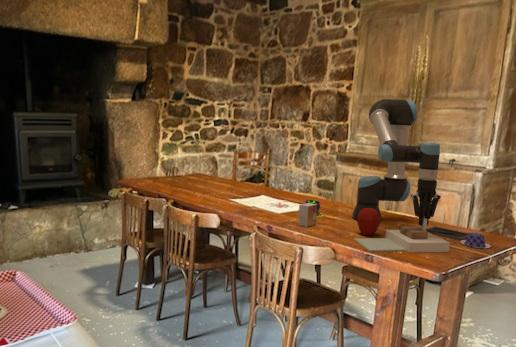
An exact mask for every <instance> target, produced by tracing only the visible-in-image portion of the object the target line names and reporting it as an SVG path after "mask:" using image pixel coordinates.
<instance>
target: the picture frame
mask: <svg viewBox="0 0 516 347" xmlns="http://www.w3.org/2000/svg"><path fill="white" fill-rule="evenodd" d="M426 231H427V232H429V233H431V234H433V235H435V236H437V237H440V238H442V237H443V238H447V239H451V240H456V241H459V242H460V241H461V240H466V239H467V237H468V234H469V233H470V232H464V231H459V230H455V229H450V228H444V227H440V226H435V225H434V226H431V227H429V228H426Z"/></svg>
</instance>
